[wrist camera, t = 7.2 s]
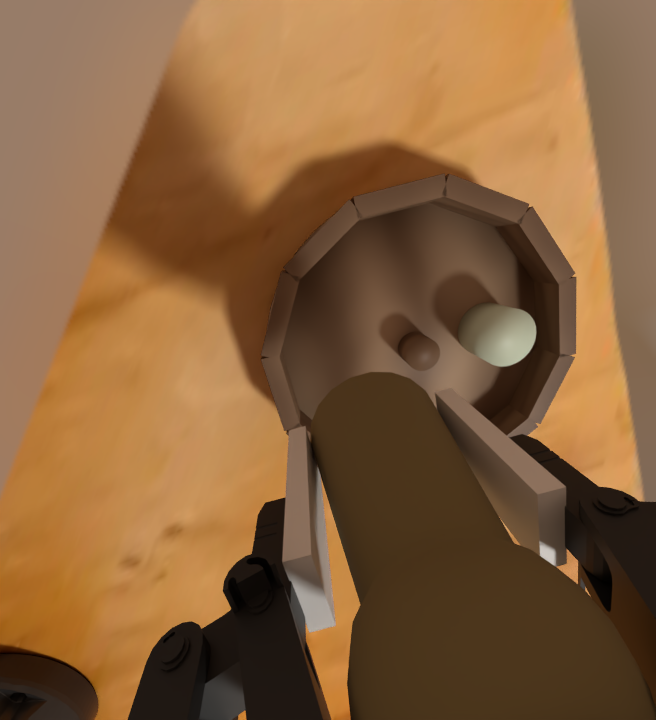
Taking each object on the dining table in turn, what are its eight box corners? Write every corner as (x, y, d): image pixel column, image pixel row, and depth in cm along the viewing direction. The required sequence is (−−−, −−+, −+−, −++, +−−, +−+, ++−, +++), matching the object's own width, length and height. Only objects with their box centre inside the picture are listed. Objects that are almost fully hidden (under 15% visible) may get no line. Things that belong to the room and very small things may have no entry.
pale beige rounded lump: (460, 359, 25) (481, 372, 22) (455, 309, 24) (476, 317, 21) (510, 346, 25) (537, 358, 22) (507, 296, 24) (535, 301, 21)
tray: (309, 490, 29) (311, 520, 25) (226, 232, 22) (214, 228, 19) (546, 427, 29) (577, 448, 26) (538, 153, 22) (580, 134, 19)
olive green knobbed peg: (301, 380, 14) (310, 755, 3) (438, 362, 14) (826, 657, 4) (317, 495, 16) (355, 961, 5) (438, 477, 16) (697, 885, 6)
